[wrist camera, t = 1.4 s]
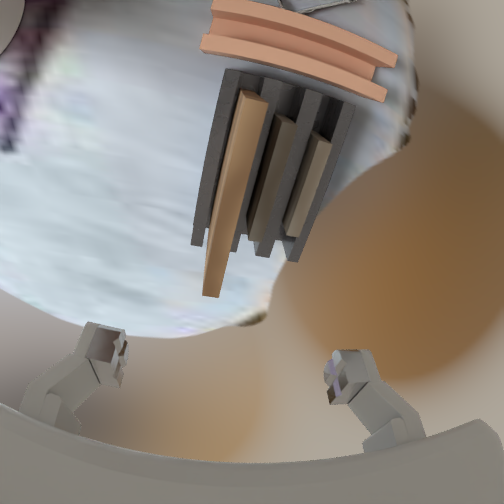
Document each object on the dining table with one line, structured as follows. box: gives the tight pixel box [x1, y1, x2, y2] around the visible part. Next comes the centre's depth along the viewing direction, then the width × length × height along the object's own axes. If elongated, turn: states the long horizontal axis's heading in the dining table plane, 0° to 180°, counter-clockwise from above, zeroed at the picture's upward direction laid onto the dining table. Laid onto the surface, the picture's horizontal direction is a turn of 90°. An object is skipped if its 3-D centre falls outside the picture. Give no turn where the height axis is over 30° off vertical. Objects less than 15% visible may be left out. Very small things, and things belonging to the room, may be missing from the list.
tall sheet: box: [202, 88, 269, 298], centre depth 29 cm, size 2×18×16 cm, turn 166°
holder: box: [199, 0, 398, 103], centre depth 26 cm, size 21×7×6 cm, turn 76°
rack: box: [191, 69, 356, 262], centre depth 35 cm, size 15×22×6 cm
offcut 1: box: [246, 112, 298, 243], centre depth 33 cm, size 2×14×8 cm, turn 166°
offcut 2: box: [282, 130, 333, 238], centre depth 34 cm, size 2×12×7 cm, turn 166°
